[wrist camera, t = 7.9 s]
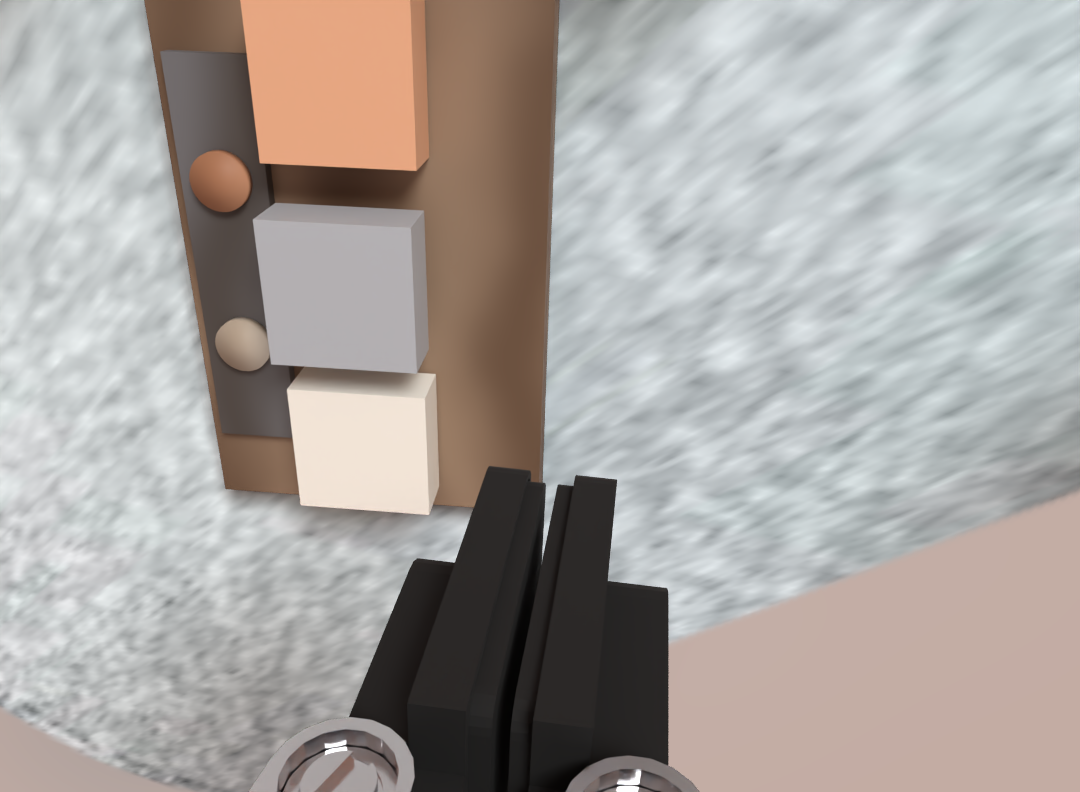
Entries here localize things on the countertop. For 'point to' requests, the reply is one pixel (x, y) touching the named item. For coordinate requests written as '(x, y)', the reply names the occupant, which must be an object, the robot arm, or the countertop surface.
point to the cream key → (365, 439)
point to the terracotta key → (339, 82)
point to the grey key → (344, 286)
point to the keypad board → (436, 188)
